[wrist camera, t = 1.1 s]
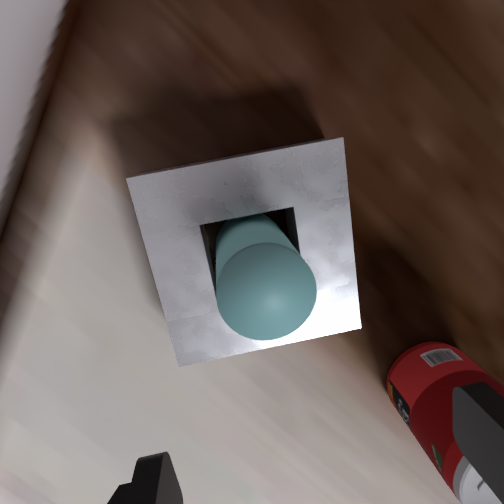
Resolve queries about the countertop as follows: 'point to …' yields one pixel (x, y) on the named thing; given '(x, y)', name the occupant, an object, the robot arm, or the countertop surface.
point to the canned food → (439, 411)
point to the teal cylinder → (261, 279)
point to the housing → (238, 205)
